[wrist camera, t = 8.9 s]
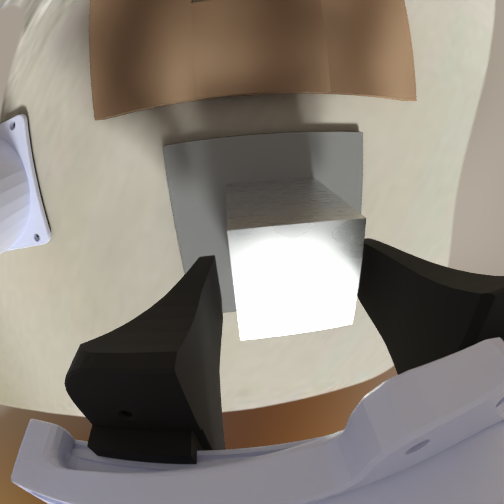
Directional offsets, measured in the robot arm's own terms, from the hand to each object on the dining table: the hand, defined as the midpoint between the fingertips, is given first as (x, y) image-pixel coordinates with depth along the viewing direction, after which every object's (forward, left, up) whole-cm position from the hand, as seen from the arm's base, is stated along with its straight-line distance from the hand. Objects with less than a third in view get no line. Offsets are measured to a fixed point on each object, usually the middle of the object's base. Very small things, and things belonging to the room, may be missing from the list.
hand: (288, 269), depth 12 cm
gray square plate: (0, 0, -4) cm, 4 cm away
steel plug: (0, 0, -4) cm, 4 cm away
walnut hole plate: (0, +15, -4) cm, 16 cm away
